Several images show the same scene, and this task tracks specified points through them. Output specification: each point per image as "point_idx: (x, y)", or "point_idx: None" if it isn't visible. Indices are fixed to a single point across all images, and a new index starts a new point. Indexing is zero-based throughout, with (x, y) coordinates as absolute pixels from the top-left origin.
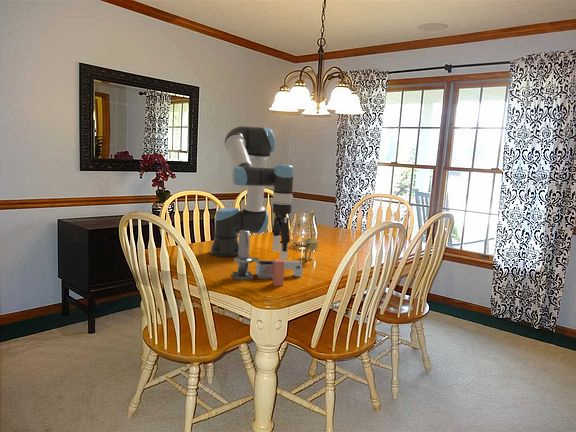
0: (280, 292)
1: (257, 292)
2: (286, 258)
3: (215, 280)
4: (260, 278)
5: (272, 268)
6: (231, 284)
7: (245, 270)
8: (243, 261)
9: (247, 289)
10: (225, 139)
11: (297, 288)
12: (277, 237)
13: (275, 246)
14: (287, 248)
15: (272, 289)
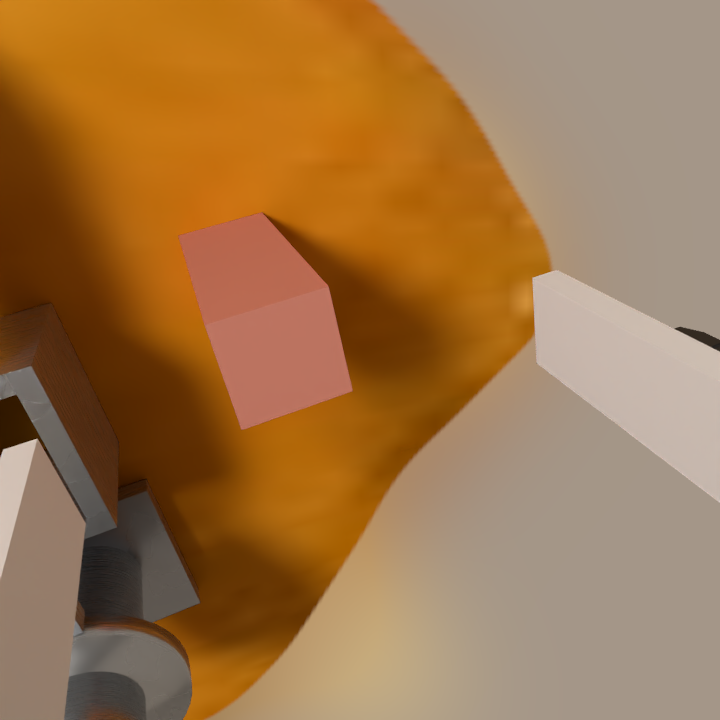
0: (448, 226)
1: (456, 387)
2: (563, 281)
3: (247, 671)
4: (113, 432)
5: (54, 383)
6: (312, 570)
7: (131, 590)
8: (188, 674)
9: (401, 458)
10: None
11: (329, 60)
12: (13, 703)
13: (59, 556)
14: (680, 334)
15: (384, 294)
